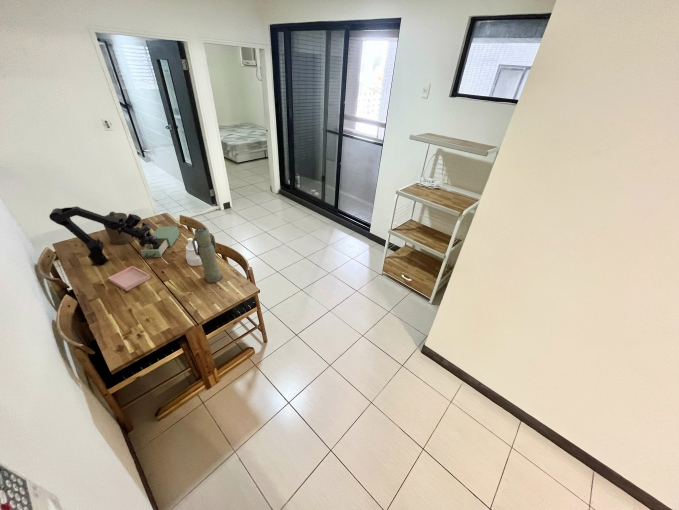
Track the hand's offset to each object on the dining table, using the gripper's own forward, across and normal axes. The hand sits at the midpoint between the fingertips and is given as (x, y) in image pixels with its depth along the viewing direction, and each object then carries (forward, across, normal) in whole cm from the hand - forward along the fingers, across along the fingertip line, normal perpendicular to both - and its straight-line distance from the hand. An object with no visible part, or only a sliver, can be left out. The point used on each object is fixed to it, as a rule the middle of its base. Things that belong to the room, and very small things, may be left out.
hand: (157, 242), depth 188 cm
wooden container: (-11, +27, +21) cm, 36 cm away
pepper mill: (+3, 0, +5) cm, 5 cm away
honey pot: (+20, -23, -10) cm, 32 cm away
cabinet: (+8, +13, +2) cm, 16 cm away
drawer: (+3, -2, +6) cm, 7 cm away
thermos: (+25, -47, -14) cm, 55 cm away
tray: (-7, -27, +17) cm, 33 cm away
